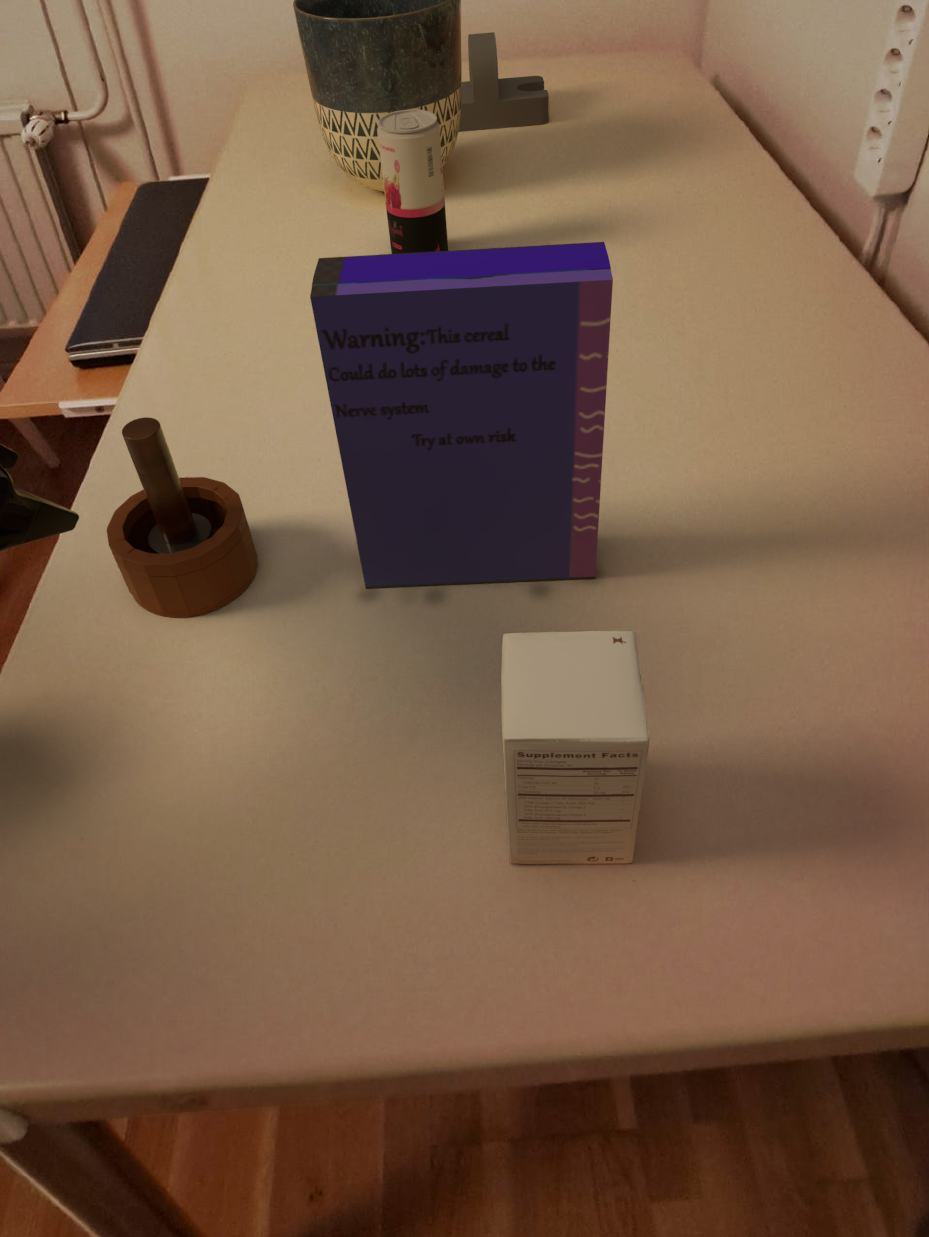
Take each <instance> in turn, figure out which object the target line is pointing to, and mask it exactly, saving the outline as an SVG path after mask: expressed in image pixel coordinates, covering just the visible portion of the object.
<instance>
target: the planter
mask: <svg viewBox="0 0 929 1237" xmlns="http://www.w3.org/2000/svg"><path fill="white" fill-rule="evenodd" d="M292 6H293V13H294V17H295V23H296V28H297V32H298V37H299V42H300V45H301V50H302V55H303V59H304V60H303V61H304V64H305V69H306V74H307V79H308V83H309V88H310V92H311V98H312V102H313V107H314V110H315V115H316V120H317V124H318V127H319V130H320V133H321V136H322V139H323V141H324V143H325V146H326V148H327V151H328V152H329V154H330V156H331V158H332V160H334V162H335V164H336V165H337V166H338V167H339V168H340V169H341V170H342V171H343V172H344V173H345V174H346V175H347V176H348V177H350V178H351V180H353V181H355V182H356V183H358V184H360V185H362V186H363V187H364V188H365V187H366V188H368V189H370V190H374V191H377V192H384V185H383V176H382V168H381V159H380V151H379V142H378V134H377V128H378V127H379V126H378V120H379V119H380V118H381V117H383V116H384V115H386V114H389V113H392V112H396V111H401V110H411V109H417V110H426V111H429V112H432V113H434V114H435V115H436V116H437V122H438V123H439V129H440V143H441V157H442V168H443V167H444V166H445V165H446V163H447V162H448V161H449V158H450V157H451V155H452V153H453V151H454V149H455V146H456V144H457V140H458V135H459V132H460V131H459V126H460V119H461V82H462V0H293V3H292Z"/></svg>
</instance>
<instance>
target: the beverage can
mask: <svg viewBox="0 0 929 1237" xmlns="http://www.w3.org/2000/svg"><path fill="white" fill-rule="evenodd" d="M378 126H379V127H378V128H377V134H378V142H379V151H380V159H381V168H382V176H383V185H384V202H385V209H386V217H387V226H388V234H389V243H390V253H391V254H400V253H417V252H434V251H449V242H448V240H449V239H448V227H447V214H446V201H445V185H444V172H443V167H442V157H441V143H440V129H439V123H438V122H437V116H436V115H435V114H434V113H432V112H429V111H426V110H417V109H411V110H401V111H396V112H392V113H389V114H386V115H384V116H383V117H381V118H380V119H379V120H378Z"/></svg>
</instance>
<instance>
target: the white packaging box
mask: <svg viewBox="0 0 929 1237" xmlns="http://www.w3.org/2000/svg"><path fill="white" fill-rule="evenodd" d="M500 710H501V711H500V712H501V738H502V753H503V754H502V755H503V772H504V774H503V776H504V790H505V791H504V792H505V793H504V794H505V808H506V810H505V812H506V824H507V826H506V827H507V842H508V859H509V860H508V861H509V863H510V864H518V865H519V864H520V865H521V864H522V865H523V864H524V865H609V864H613V865H614V864H615V865H616V864H617V865H620V864H623V865H624V864H631V863H632V862H633V860H634V853H635V844H636V837H637V832H638V824H639V823H638V822H639V817H640V812H641V811H640V810H641V805H642V804H641V803H642V796H643V789H644V784H645V777H646V770H647V764H648V757H649V747H650V746H649V745H650V731H649V723H648V715H647V709H646V701H645V694H644V684H643V676H642V671H641V664H640V657H639V648H638V641H637V632H636V631H635V630H584V631H583V630H582V631H581V630H580V631H542V632H541V631H540V632H539V631H538V632H536V631H535V632H532V631H531V632H507V633H503V635H502V644H501V673H500Z"/></svg>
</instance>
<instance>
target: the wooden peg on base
mask: <svg viewBox="0 0 929 1237" xmlns="http://www.w3.org/2000/svg"><path fill="white" fill-rule="evenodd" d="M121 436H122V438H123V441H124V443H125V446H126V448H127V451H128V453H129V456H130V458H131V461H132V463H133V466H134V469H135V471H136V474H137V476H138V479H139V481H140V484H141V486H142V490H143V489H144V492H145V494H146V497H147V499H148V502H149V505H150V507H151V510H152V512H153V515H154V517H155V520H156V522H157V524H156V525H155V526H154V527H153V528H152V529H151V531H150V533H149V536H148V544H149V546H150V549H151V551H152V554H168V553H175V552H179V551H183V550H186V549H190V548H193V547H195V546H197V545H199V544H200V543H202V542H204V541H206V540H207V539H209V538H211V537H212V536H213V535H214V532H213V529H212V526H211V523H210V521H209V520H208V519H207V518H206V517H204V516H202V515H200V514H196V513H191V511H190V508H189V505H188V502H187V499H186V496H185V493H184V491H183V488H182V485H181V482H180V479H179V478H180V476H179V473H178V471H177V468H176V465H175V462H174V459H173V457H172V454H171V451H170V448H169V446H168V443H167V440H166V436H165V434H164V430H163V429H162V425H161V422H160V421H159V420H158V419H156V418H154V417H147V416H146V417H139V418H135V419H133V420H131V421H129V422H127V423H126V424H125V425H124V426H123V427H122V429H121Z"/></svg>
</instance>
